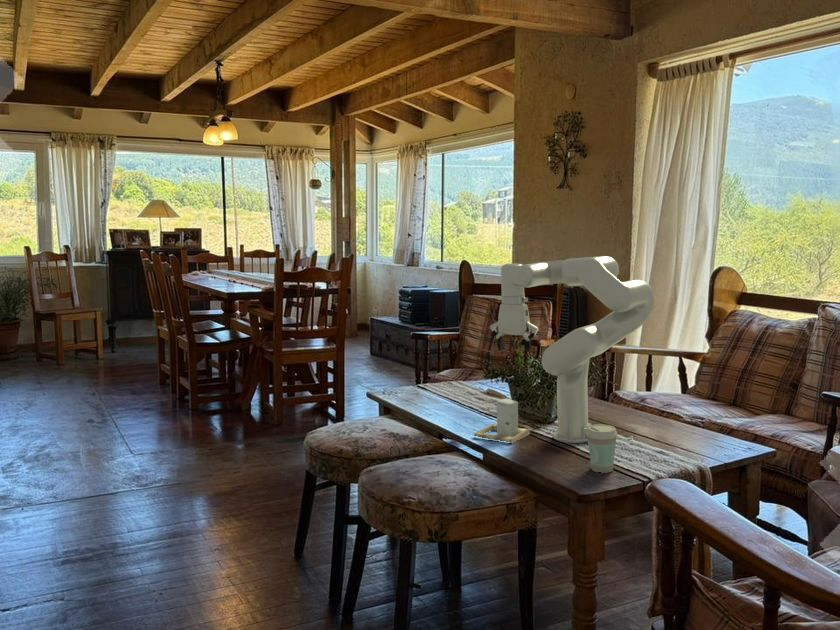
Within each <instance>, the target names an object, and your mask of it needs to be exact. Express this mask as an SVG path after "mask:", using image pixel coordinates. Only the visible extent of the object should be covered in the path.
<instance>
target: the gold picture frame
mask: <svg viewBox="0 0 840 630" xmlns="http://www.w3.org/2000/svg"><path fill="white" fill-rule="evenodd" d="M493 429H494V430H493ZM491 430H493V431H496V430H497V423H496V424H495V423H492V424H490V425H488V426H486V427H484V428H482V429H481V430H478V431H476V432H475V433H474V434H473V435H474V436H478V437H482V438H488V439H494V440H500V441H506V442H511V443H513V442H515V441H517V440H519V441H520V439H521V440H522V439H524V438H526V437H527V436H529V435H530V433H531V430H530V429H529V428H521V427H518V434H517V435H516V436H514V437H509V436H502V435H497V434H490V432H489V431H491ZM486 432H489V433H487V434H484V433H486ZM491 432H492V431H491ZM474 436H473V437H474ZM517 442H518V441H517ZM515 443H516V442H515Z"/></svg>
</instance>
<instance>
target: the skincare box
mask: <svg viewBox="0 0 840 630" xmlns="http://www.w3.org/2000/svg"><path fill="white" fill-rule="evenodd" d="M496 425H497V431H496V435H502V436H509V437H514V436H516V435H517V434H518V428H519V402H518V401H516V400H512V399H508V398H503V399H499V400H497V401H496Z"/></svg>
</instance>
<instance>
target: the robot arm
mask: <svg viewBox="0 0 840 630" xmlns="http://www.w3.org/2000/svg"><path fill="white" fill-rule="evenodd" d="M619 273H620V266H619V264H618V262H617V260H615V259H614V258H613V257H611V256H607V255H600V256H587V257H586V256H585V257H576V258H574V257H573V258H566V259H565V260H551V261H541V262H540V261H539V262H531V263H527V264H522V263H515V262H514V263H505V264H503V265H502V266H501V269H500V275H501V276H500V277H501V279H500V281H501V282H500V283H501V285H500V286H501V304H500V305H499V309H498V319H497V321H496V322H494V323H492V324H490V325H489V329H490V330H491V334H492V335H493V336H494V337H495V339H496V346H497V351H499V352H500V351H504V349H505V338H504V337H503V336H505V335H510V336H511V335H513V336H522V337H523V339H524V342H523V343H524V353H526V354H528V353H530V352H531V350H532V340H533V339H534V337H536V336H537V332H538V331H539V327H538V326H536V325H534V324H533V323H531V319H530V313H529V307H528V304H525V303H526V302H527V303H528V302H529V297H526V295H525V288H532V287H533V288H534V287H538V286H539V287H540V286H545V285H551V284H552V285H554V284H555V285H556V284H566V285H567V286H569V287H576V286H579V287H580V286H584V288H585V289H586V290H588V291H589V293H590V294H592V295H593V296H594V297H595V298H597V300H599V301H600V302H601V303H602V304H603V305H604V306H605V307H606V308H608V309H609V310H611V311H612V312H610V313H608V314H607V315H605V316H604V317H603V318H601V319H600V320H598V321H596V322H594V323H591V324H589V325H585V326H581V327H578V328H575V329H573V330H572V331H570V332H568V333H567V334H566V335H564V336H562V337H561V338H560V339H558V340H556V341H555V342H553V343H552V344H550V345H549V346H548V347H547V348H546V349H545V350H544V351H543V354H542V357H541V365H542V368H543V369H544V370H545V372H547V373H548V374H549V375H552V376H556V377H557V378H556V379H557V380H556V400H557V401H556V403H557V430H555V431H554V432H553V433H552V434H553V435H552V437H553V439H554V440H556V441H558V442H563V443H567V444H580V443H586V442H587V443H588V438H587V436H586V432H587V429H588V427H589V426H591V425H592V423H590V422H589V409H588V407H589V402H588V397H589V396H588V374H589V367H590V366H589V365H590V360H591V358H594V357H596V356H599V355H602V354H604V352H606V351H607V350H609V349H610V348H611V347H613V346H615V345H616V344H618V343H619V342H621V341H623V340H624V339H625V338H627V337H628V336H629V335H632V334H633V333H634V332H636V331H637V330H638V329H640V327H642V326H643V325H644V324H645V323H646V322H647V320H648V319H649V318H650V316H651V315H652V312H653V309H654V307H655V305H654V304H655V295H654V294H655V293H654V290H653V288H652V286H651V285H650V284H649V283H647V282H646V281H644V280H641V279H631V280H626V281H625V280H624V281H620V280H619V279H618V276H619ZM531 330H532V331H531ZM530 332H531V333H530Z"/></svg>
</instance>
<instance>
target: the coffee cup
mask: <svg viewBox="0 0 840 630" xmlns="http://www.w3.org/2000/svg"><path fill="white" fill-rule="evenodd" d="M618 435H619V434H618V431H617V429H616V427H615V426H613V425H609V424H601V423H599V424H591V426H589V427H588V429H587V432H586V436H587V438H588V441H587V444H588V451H589V459H590V465H591V466H590V467H591V470H592V471H593V472H594V473H595V472H596V473H598V472H601V473H600V474H607V473H610V472H612V471H613V470H614V465H615V464H614V463H615V454H616V453H615V452H616V444H617V443H616V442H617V437H618Z"/></svg>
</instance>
